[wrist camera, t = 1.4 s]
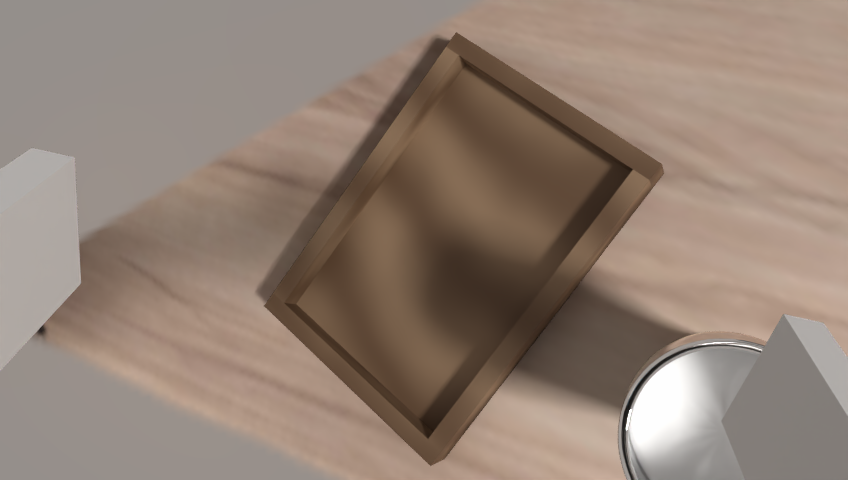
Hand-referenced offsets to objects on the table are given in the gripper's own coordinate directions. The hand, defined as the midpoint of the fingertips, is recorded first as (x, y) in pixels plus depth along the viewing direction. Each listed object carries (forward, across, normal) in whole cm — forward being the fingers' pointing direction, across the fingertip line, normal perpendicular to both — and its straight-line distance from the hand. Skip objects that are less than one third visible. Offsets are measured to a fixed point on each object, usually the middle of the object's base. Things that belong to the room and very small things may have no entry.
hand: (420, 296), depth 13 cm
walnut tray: (+25, +3, -13) cm, 28 cm away
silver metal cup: (+17, +17, -14) cm, 28 cm away
